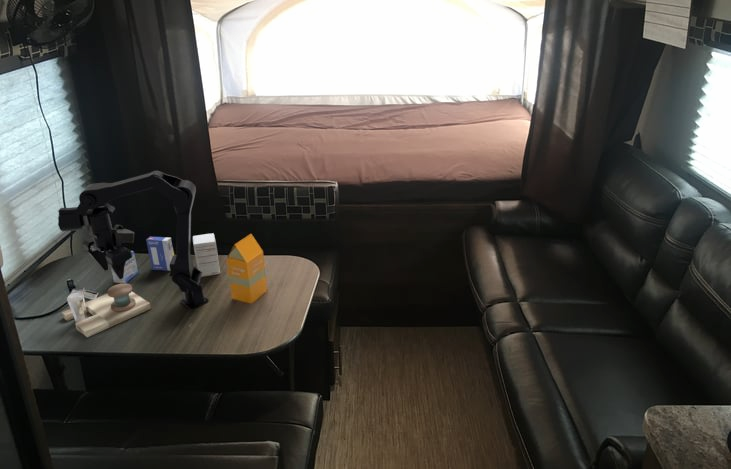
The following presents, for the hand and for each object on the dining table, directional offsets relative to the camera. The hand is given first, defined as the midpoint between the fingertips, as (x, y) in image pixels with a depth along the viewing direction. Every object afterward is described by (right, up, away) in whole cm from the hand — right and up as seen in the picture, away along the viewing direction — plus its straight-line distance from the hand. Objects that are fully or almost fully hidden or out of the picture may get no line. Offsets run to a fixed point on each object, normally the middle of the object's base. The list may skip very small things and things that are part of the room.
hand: (113, 274), depth 171 cm
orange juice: (+39, -7, +11) cm, 41 cm away
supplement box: (+22, -1, +26) cm, 34 cm away
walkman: (+5, 0, +29) cm, 29 cm away
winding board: (-3, -12, +2) cm, 13 cm away
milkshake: (-9, -14, -1) cm, 16 cm away
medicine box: (-6, -3, +23) cm, 24 cm away
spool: (+2, -10, +2) cm, 10 cm away
